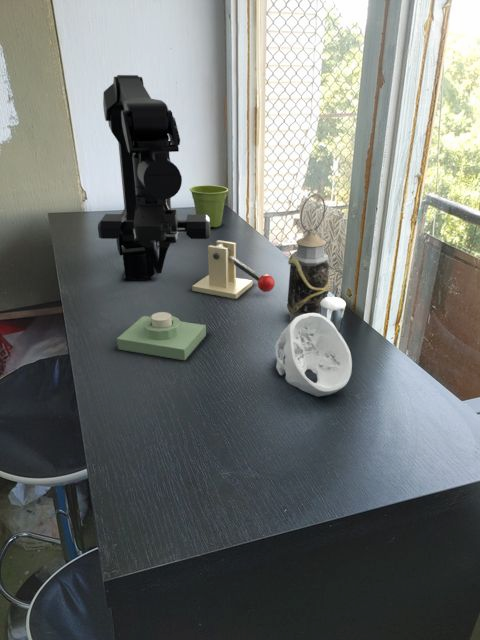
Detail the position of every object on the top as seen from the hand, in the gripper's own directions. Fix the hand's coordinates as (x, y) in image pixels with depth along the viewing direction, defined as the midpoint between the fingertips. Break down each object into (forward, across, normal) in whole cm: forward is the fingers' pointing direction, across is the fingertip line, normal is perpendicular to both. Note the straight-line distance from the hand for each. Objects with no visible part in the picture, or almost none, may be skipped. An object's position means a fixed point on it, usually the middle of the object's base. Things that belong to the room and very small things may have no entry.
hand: (159, 272), depth 95 cm
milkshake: (+12, +31, -6) cm, 34 cm away
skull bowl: (+12, +25, -19) cm, 34 cm away
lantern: (+12, +28, +4) cm, 31 cm away
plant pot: (+13, +7, +73) cm, 75 cm away
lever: (+8, +16, +19) cm, 26 cm away
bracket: (+12, +11, +21) cm, 27 cm away
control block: (+12, 0, -5) cm, 13 cm away
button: (+8, 0, -5) cm, 9 cm away
